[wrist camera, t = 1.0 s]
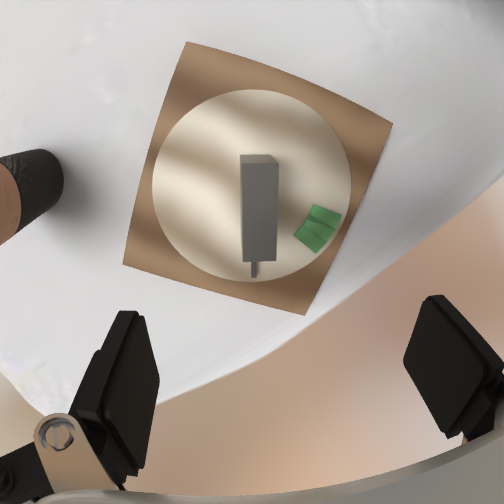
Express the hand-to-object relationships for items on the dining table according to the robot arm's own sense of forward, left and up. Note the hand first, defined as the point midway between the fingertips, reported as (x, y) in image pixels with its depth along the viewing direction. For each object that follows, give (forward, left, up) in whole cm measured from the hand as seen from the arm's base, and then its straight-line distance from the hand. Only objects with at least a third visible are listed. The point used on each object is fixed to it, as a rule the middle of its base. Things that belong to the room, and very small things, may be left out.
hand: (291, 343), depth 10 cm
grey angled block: (+2, +1, -19) cm, 19 cm away
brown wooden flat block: (0, 0, -23) cm, 23 cm away
